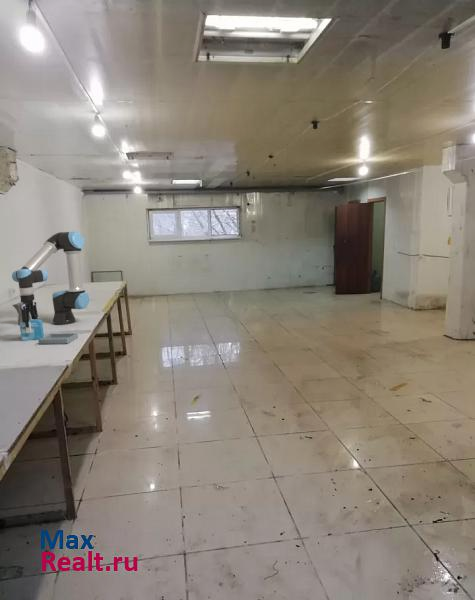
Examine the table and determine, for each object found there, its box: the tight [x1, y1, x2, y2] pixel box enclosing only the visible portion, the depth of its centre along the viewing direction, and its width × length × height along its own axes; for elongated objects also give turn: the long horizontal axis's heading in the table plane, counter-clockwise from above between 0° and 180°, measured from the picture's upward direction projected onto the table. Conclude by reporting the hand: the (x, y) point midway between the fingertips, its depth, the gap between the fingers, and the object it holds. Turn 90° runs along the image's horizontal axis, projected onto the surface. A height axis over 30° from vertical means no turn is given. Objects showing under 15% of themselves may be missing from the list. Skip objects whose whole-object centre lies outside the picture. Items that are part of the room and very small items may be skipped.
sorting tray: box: [37, 332, 79, 346], centre depth 256 cm, size 14×18×3 cm
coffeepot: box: [11, 300, 32, 326], centre depth 308 cm, size 15×9×18 cm, turn 121°
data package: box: [19, 318, 45, 342], centre depth 263 cm, size 12×4×12 cm, turn 101°
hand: (31, 330), depth 263 cm, fingers open, 6 cm apart
